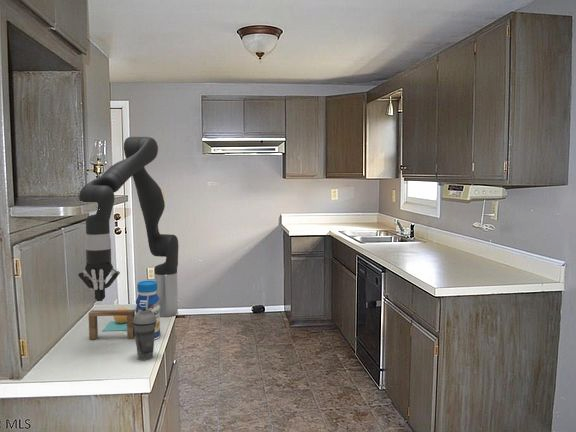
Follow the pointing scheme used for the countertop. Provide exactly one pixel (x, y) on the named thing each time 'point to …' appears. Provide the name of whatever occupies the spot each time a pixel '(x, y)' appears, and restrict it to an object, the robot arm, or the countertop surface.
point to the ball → (121, 317)
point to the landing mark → (116, 326)
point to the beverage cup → (144, 332)
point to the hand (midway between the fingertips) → (100, 300)
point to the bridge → (93, 315)
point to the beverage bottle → (149, 301)
